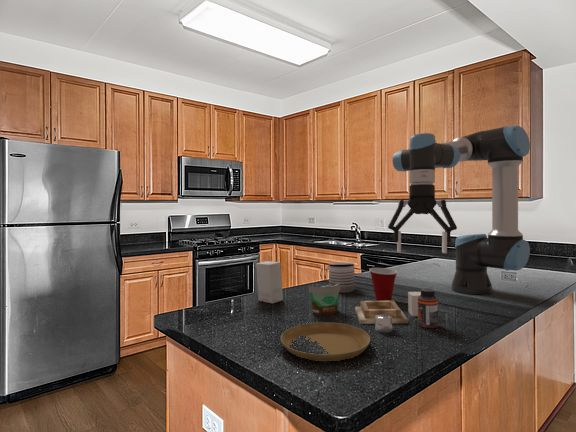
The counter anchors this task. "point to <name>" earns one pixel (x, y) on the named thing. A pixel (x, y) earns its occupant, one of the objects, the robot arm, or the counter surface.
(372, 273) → the plastic cup
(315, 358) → the plant saucer
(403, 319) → the tray
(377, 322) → the small clear jar
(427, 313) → the supplement bottle
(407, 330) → the counter surface
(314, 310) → the food container
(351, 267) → the off-white ribbed cylinder
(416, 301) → the off-white block
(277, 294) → the skincare box
